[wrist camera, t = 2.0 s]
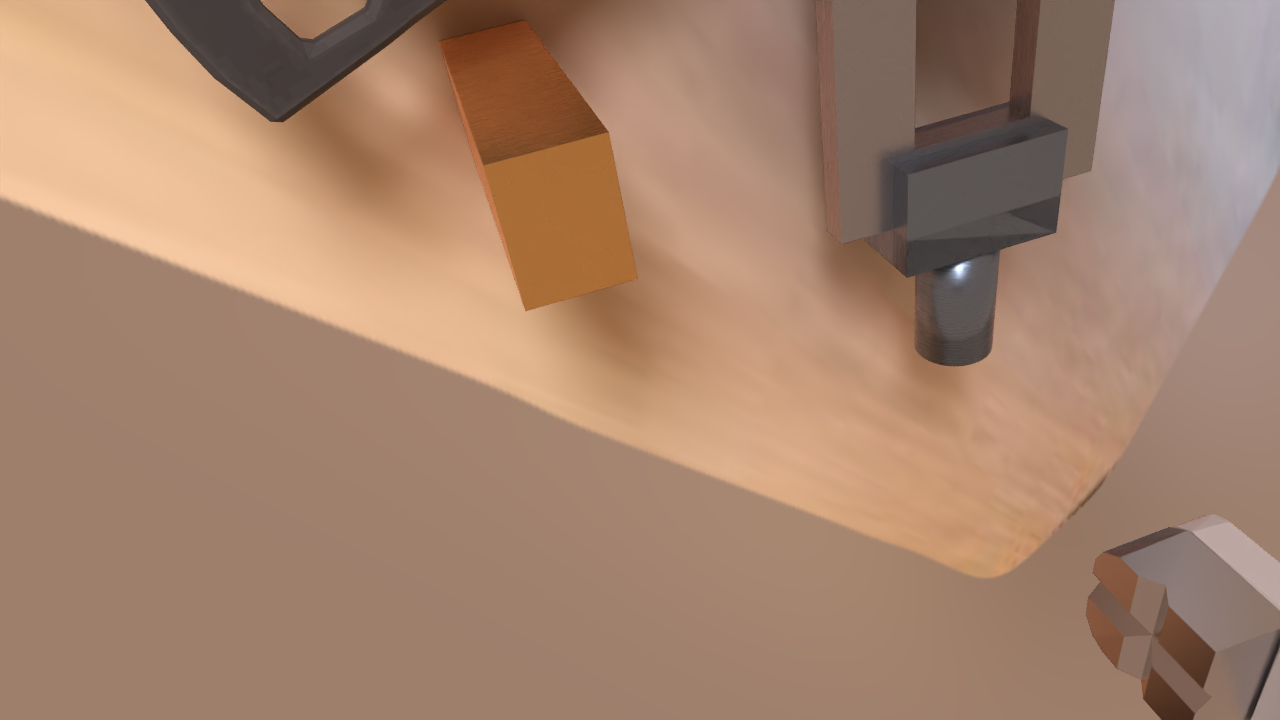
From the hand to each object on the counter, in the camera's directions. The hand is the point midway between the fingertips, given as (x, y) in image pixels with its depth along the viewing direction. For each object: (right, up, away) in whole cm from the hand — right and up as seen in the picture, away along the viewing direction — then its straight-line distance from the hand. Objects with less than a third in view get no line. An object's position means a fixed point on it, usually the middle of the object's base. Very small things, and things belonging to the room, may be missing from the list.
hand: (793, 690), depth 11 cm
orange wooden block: (-7, +14, +21) cm, 26 cm away
